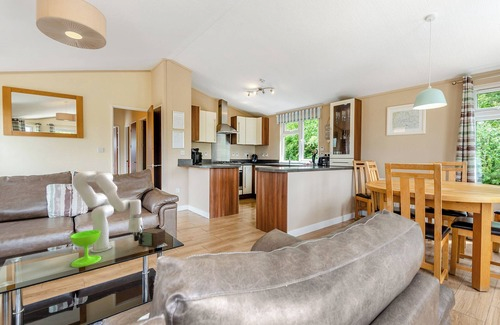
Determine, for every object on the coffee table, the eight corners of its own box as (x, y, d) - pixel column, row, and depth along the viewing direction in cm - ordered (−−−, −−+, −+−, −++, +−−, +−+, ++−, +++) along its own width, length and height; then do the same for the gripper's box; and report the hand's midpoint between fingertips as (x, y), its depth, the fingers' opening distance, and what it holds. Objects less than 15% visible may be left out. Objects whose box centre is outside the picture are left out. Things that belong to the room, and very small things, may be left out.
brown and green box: (137, 245, 172) (137, 232, 172) (149, 240, 183) (149, 228, 183) (154, 247, 167) (154, 234, 167) (165, 242, 178) (165, 229, 178)
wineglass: (106, 258, 150) (106, 231, 150) (80, 269, 135) (79, 239, 135) (91, 254, 157) (91, 229, 156) (65, 264, 142) (64, 236, 142)
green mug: (137, 247, 167) (137, 235, 167) (143, 244, 172) (142, 232, 172) (146, 248, 164) (146, 236, 164) (152, 245, 169) (151, 233, 169)
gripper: (123, 216, 167) (124, 241, 167) (139, 217, 162) (140, 243, 162) (132, 214, 174) (132, 238, 174) (147, 215, 169) (148, 239, 169)
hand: (136, 240), depth 168 cm, fingers closed
